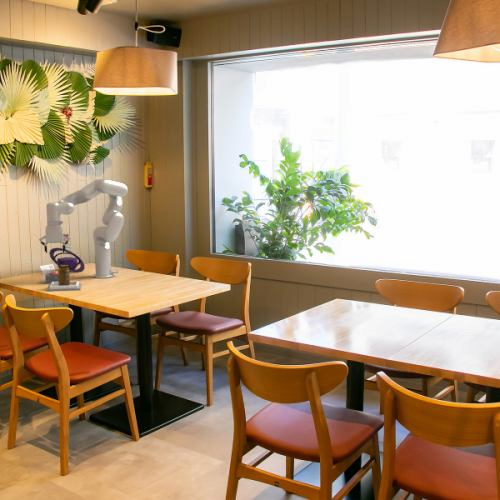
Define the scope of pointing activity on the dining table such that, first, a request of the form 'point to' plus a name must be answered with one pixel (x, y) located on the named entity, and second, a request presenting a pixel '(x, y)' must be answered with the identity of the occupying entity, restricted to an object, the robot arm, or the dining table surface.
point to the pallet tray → (73, 286)
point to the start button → (54, 273)
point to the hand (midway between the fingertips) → (55, 252)
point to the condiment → (64, 275)
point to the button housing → (51, 278)
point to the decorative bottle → (67, 258)
